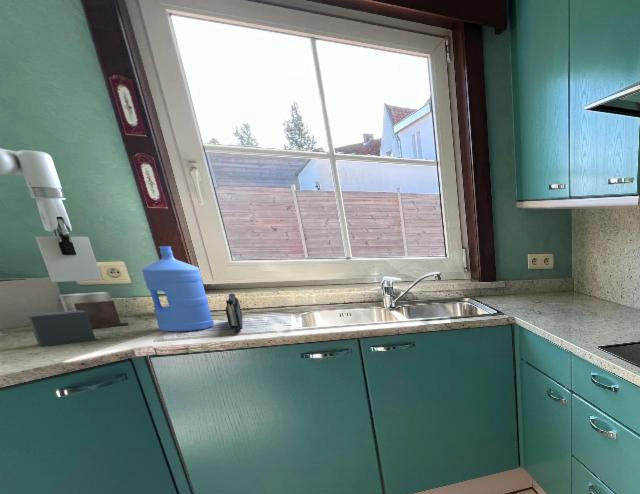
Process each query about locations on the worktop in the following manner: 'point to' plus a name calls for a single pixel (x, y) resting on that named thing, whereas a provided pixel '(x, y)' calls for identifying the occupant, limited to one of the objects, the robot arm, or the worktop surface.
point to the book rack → (94, 308)
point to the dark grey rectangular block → (61, 327)
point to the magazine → (234, 313)
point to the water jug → (178, 294)
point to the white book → (69, 260)
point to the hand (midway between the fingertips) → (68, 254)
